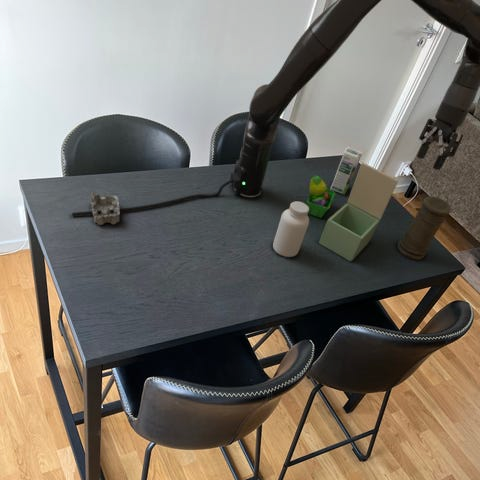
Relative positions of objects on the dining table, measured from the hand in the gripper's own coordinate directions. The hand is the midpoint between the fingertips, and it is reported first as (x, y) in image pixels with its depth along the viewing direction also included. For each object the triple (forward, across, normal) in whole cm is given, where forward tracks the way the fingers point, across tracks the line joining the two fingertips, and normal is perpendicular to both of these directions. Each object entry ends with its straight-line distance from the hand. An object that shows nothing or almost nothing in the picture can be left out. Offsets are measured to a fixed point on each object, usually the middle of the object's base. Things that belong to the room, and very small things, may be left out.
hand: (427, 163), depth 133 cm
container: (+27, +2, +7) cm, 28 cm away
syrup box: (+22, -31, -6) cm, 39 cm away
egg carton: (+33, -12, -87) cm, 94 cm away
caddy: (+28, -2, -15) cm, 32 cm away
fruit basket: (+26, -19, -20) cm, 37 cm away
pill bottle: (+31, +2, -36) cm, 47 cm away
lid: (+11, -2, -13) cm, 17 cm away
